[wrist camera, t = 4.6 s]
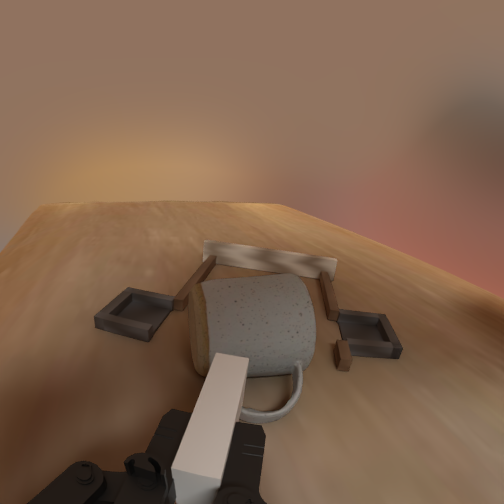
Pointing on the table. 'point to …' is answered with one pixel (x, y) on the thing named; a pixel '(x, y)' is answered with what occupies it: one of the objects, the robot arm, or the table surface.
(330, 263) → the frame with square trays
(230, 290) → the ceramic mug
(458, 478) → the table surface
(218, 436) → the robot arm
